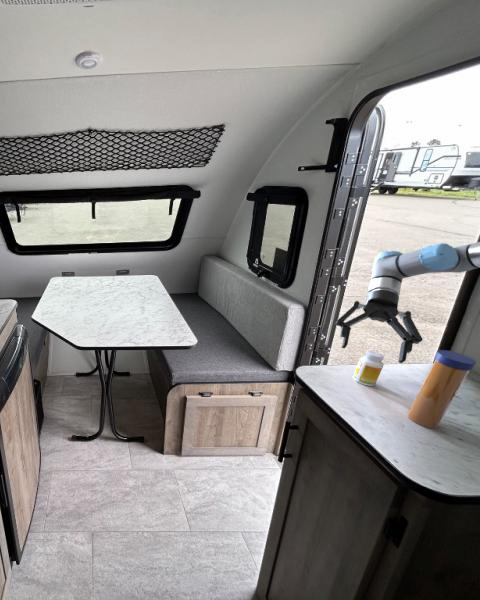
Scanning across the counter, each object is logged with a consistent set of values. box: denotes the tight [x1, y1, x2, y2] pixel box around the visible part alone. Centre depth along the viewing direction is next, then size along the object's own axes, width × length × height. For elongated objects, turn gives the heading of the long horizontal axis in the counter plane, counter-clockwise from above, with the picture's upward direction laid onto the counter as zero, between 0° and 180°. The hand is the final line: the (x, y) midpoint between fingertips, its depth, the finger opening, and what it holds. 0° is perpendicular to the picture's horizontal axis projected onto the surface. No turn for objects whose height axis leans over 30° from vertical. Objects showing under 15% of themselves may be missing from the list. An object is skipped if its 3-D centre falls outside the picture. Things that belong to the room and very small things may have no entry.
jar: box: [406, 359, 470, 429], centre depth 80 cm, size 6×6×18 cm
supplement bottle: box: [352, 350, 385, 387], centre depth 97 cm, size 5×5×10 cm
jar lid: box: [434, 349, 477, 371], centre depth 77 cm, size 6×6×2 cm
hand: (372, 353), depth 98 cm, fingers open, 13 cm apart
